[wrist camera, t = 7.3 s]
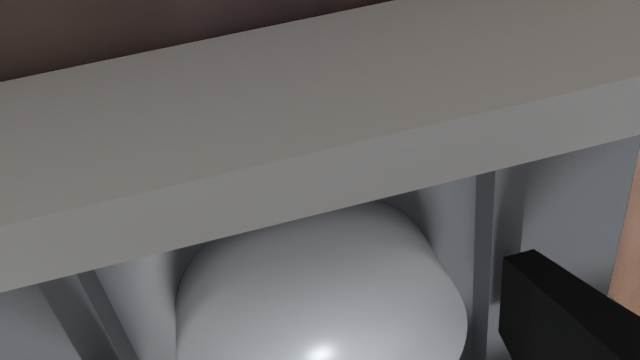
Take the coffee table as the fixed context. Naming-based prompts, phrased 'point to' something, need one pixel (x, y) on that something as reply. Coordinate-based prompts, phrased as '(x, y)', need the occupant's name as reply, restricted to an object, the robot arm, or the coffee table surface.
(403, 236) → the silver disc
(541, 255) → the robot arm
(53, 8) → the coffee table surface
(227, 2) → the coffee table surface
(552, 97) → the player tray
